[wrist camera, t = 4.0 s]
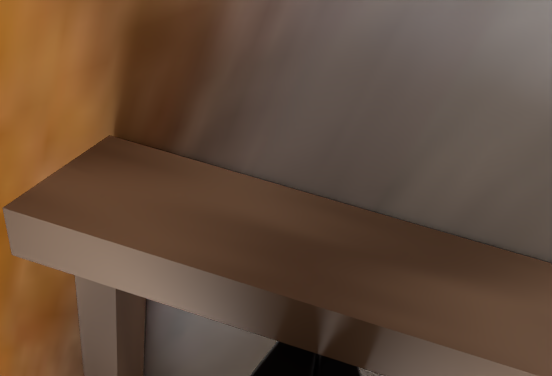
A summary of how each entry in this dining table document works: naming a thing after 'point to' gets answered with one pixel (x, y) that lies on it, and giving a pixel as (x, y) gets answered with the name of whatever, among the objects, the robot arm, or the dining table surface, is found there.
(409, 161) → the dining table surface
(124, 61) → the dining table surface
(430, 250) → the tray
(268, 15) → the dining table surface
